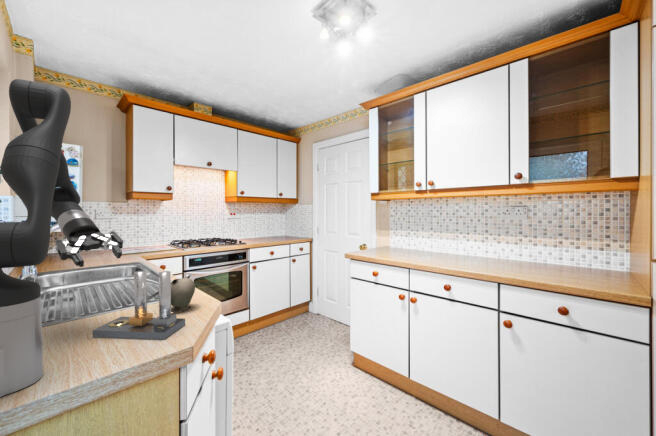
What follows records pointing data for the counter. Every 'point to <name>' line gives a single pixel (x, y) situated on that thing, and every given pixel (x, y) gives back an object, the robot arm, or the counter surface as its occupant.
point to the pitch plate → (151, 330)
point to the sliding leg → (140, 300)
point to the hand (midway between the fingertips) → (101, 260)
